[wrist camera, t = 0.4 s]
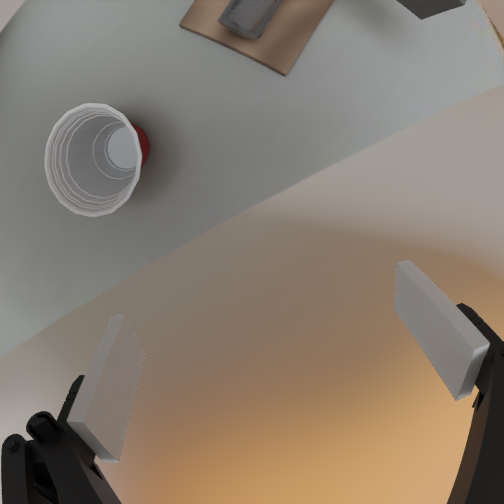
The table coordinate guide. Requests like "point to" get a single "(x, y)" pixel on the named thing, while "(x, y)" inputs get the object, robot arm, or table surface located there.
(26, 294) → the table surface
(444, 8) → the valve lever
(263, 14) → the valve body
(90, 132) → the plastic cup
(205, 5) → the mounting board
